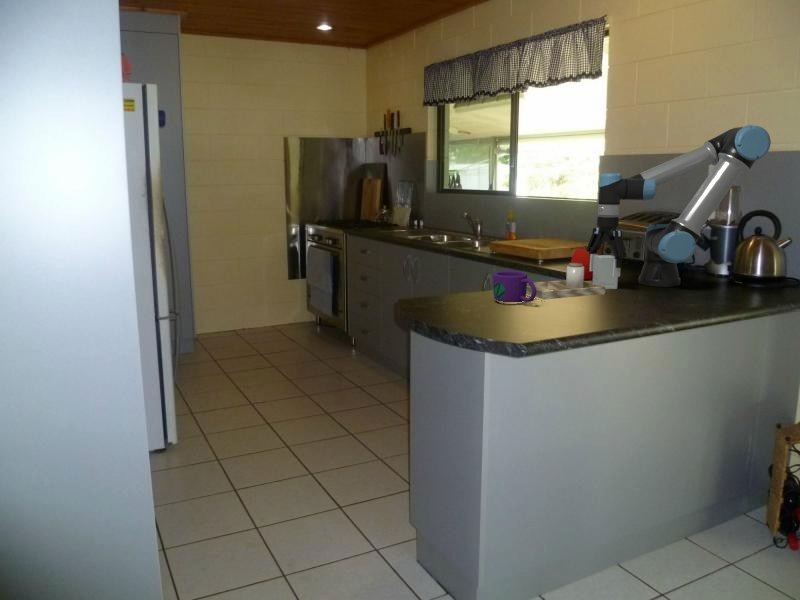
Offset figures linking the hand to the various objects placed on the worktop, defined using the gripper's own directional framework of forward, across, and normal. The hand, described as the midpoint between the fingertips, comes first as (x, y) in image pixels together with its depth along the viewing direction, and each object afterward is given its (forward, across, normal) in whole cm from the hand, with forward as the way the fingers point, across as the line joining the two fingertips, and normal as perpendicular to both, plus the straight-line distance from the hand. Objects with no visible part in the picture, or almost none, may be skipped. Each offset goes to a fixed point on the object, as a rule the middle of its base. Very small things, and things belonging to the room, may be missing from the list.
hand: (604, 273), depth 239 cm
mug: (+7, +10, -43) cm, 44 cm away
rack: (+6, +3, -21) cm, 22 cm away
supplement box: (+6, 0, 0) cm, 6 cm away
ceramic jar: (+5, +3, -15) cm, 16 cm away
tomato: (+6, -19, +5) cm, 21 cm away
